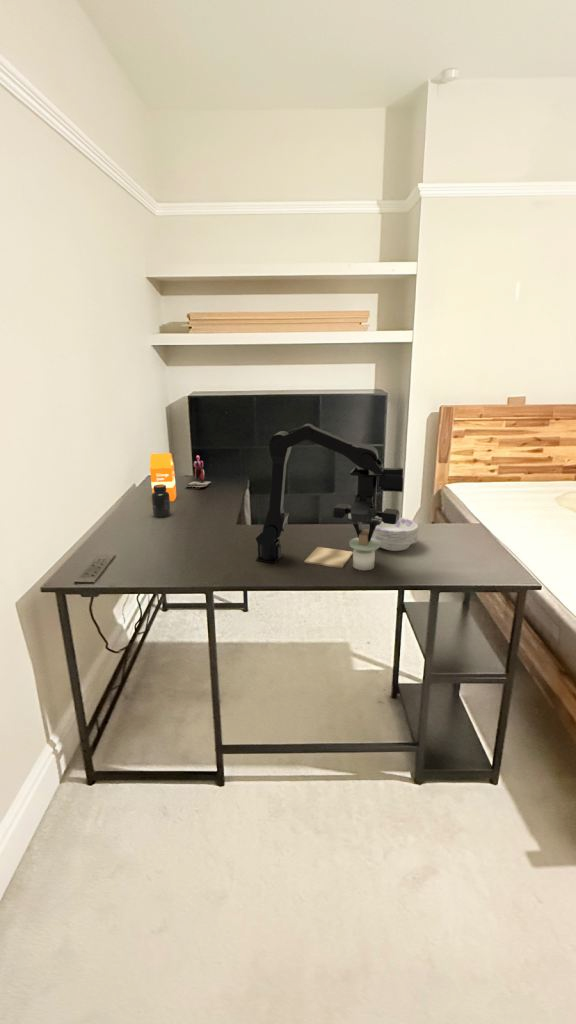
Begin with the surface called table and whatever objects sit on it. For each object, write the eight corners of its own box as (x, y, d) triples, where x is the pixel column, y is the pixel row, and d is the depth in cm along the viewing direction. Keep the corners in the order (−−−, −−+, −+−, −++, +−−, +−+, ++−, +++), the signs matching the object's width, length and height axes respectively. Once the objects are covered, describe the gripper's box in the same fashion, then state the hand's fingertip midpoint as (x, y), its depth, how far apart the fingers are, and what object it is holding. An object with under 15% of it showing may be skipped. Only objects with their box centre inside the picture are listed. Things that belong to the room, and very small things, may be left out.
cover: (345, 548, 154) (346, 535, 153) (354, 537, 162) (354, 525, 161) (375, 552, 151) (376, 539, 149) (383, 541, 159) (383, 529, 157)
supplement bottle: (149, 517, 205) (146, 487, 201) (159, 511, 211) (156, 482, 207) (165, 518, 203) (162, 488, 199) (174, 513, 209) (171, 484, 205)
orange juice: (156, 496, 231) (152, 451, 225) (176, 495, 232) (172, 451, 225) (153, 501, 224) (148, 455, 217) (174, 501, 224) (170, 455, 218)
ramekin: (350, 568, 157) (350, 552, 155) (356, 560, 162) (356, 545, 161) (371, 571, 154) (372, 555, 153) (376, 563, 160) (377, 548, 159)
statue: (192, 485, 252) (191, 454, 249) (211, 486, 250) (210, 454, 247) (184, 489, 241) (182, 456, 238) (203, 489, 240) (202, 456, 237)
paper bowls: (418, 540, 178) (420, 517, 175) (414, 557, 164) (416, 533, 162) (373, 535, 182) (374, 514, 180) (366, 552, 169) (367, 528, 166)
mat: (304, 562, 161) (304, 560, 161) (317, 548, 172) (317, 546, 172) (342, 568, 157) (342, 566, 157) (353, 553, 167) (353, 551, 167)
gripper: (326, 494, 147) (326, 546, 152) (393, 501, 140) (390, 555, 145) (338, 484, 157) (337, 533, 162) (401, 490, 150) (398, 541, 155)
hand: (364, 540), depth 156 cm, fingers closed on cover, 2 cm apart
